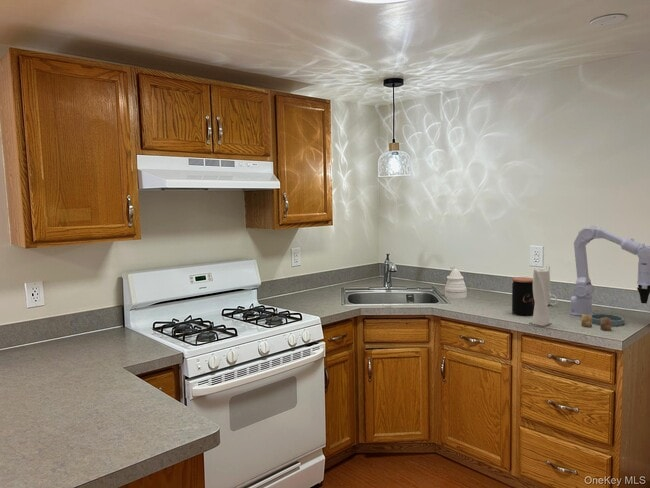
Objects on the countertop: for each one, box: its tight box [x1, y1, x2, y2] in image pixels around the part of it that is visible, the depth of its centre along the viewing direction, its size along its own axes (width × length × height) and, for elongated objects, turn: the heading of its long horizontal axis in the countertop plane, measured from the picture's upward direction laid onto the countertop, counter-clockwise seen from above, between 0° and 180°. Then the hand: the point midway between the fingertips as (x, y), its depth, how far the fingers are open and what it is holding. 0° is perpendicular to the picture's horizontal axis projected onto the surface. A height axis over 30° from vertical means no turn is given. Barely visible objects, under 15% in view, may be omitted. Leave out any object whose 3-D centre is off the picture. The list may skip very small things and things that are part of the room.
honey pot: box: [444, 265, 468, 299], centre depth 301 cm, size 13×13×18 cm
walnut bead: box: [600, 318, 612, 332], centre depth 222 cm, size 4×4×5 cm
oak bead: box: [580, 314, 592, 328], centre depth 229 cm, size 4×4×5 cm
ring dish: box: [591, 313, 625, 327], centre depth 234 cm, size 14×14×2 cm
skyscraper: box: [529, 265, 552, 328], centre depth 232 cm, size 8×8×28 cm
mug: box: [547, 291, 558, 306], centre depth 272 cm, size 12×8×8 cm
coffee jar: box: [511, 276, 535, 317], centre depth 254 cm, size 11×11×18 cm
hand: (644, 301), depth 232 cm, fingers open, 7 cm apart
